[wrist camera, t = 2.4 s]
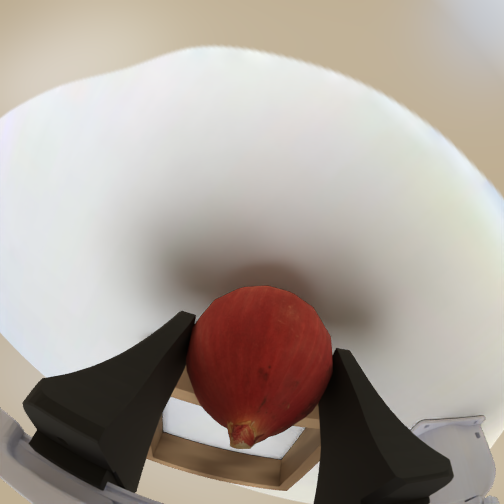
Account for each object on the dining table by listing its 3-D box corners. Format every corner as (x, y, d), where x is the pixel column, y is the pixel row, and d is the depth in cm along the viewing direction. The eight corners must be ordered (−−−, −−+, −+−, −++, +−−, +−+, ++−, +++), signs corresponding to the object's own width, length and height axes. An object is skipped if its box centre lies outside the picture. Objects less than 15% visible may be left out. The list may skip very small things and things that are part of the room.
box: (349, 385, 16) (355, 422, 13) (288, 464, 21) (286, 490, 19) (147, 337, 16) (126, 370, 14) (153, 432, 22) (142, 457, 19)
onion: (348, 302, 14) (382, 441, 6) (275, 365, 16) (261, 490, 9) (256, 230, 13) (214, 358, 6) (190, 310, 15) (129, 433, 8)
